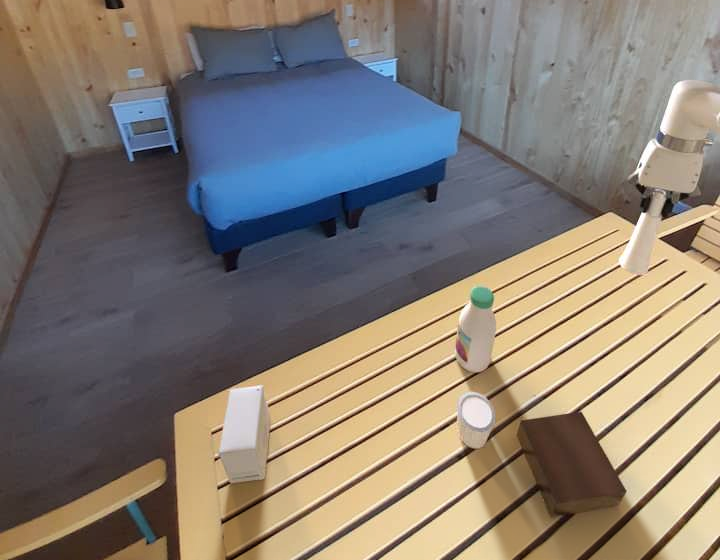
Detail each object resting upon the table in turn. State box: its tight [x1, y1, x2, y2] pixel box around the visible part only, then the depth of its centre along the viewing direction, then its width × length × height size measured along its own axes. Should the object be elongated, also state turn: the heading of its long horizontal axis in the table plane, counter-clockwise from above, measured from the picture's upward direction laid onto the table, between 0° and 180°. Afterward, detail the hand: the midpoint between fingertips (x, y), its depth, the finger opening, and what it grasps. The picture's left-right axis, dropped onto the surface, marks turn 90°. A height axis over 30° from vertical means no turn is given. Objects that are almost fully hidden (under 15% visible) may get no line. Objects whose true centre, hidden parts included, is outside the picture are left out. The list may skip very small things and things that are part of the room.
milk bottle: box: [454, 285, 497, 373], centre depth 85 cm, size 8×8×20 cm
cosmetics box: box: [218, 384, 271, 484], centre depth 72 cm, size 10×6×10 cm, turn 5°
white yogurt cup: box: [456, 391, 496, 450], centre depth 75 cm, size 7×7×7 cm
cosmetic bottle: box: [618, 188, 667, 276], centre depth 93 cm, size 6×6×22 cm
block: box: [516, 411, 627, 518], centre depth 70 cm, size 12×12×5 cm
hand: (653, 211), depth 90 cm, fingers closed on cosmetic bottle, 3 cm apart
